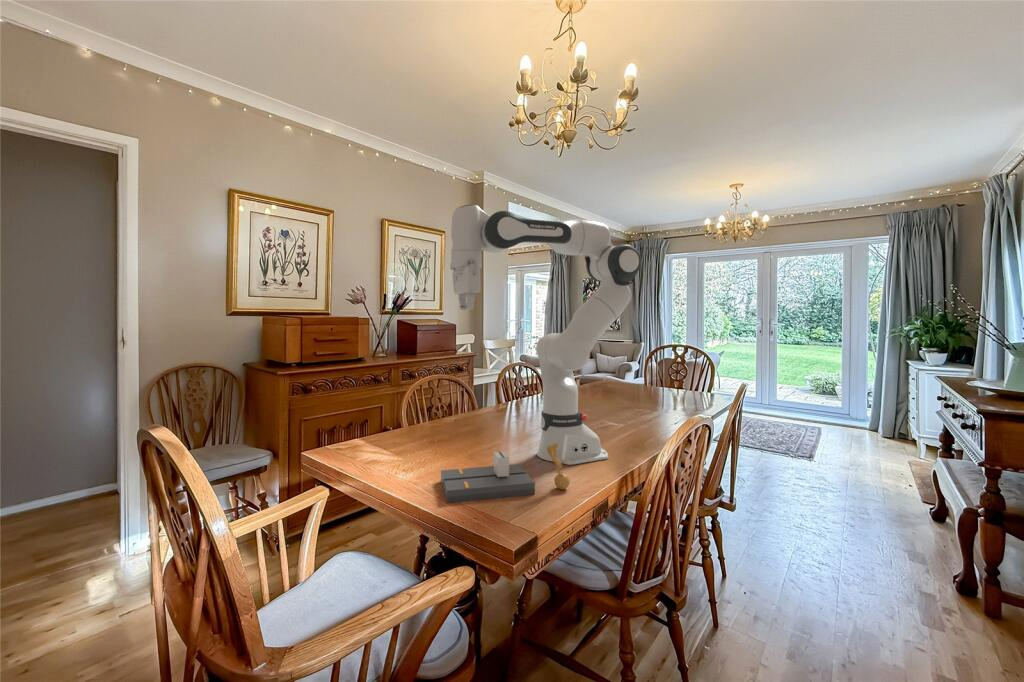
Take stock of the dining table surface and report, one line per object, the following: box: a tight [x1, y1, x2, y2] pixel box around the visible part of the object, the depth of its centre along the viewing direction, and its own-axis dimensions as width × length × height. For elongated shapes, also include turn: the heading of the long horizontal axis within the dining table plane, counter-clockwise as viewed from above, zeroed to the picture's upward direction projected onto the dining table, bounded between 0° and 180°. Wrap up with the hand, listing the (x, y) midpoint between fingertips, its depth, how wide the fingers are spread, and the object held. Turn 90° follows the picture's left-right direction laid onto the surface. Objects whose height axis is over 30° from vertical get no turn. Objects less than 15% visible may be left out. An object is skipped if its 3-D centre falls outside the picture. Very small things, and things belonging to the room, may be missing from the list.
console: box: [440, 463, 536, 504], centre depth 115 cm, size 22×14×3 cm, turn 105°
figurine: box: [547, 443, 570, 490], centre depth 115 cm, size 8×6×12 cm
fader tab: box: [493, 451, 510, 477], centre depth 116 cm, size 3×4×7 cm, turn 15°
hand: (466, 309), depth 130 cm, fingers open, 8 cm apart
